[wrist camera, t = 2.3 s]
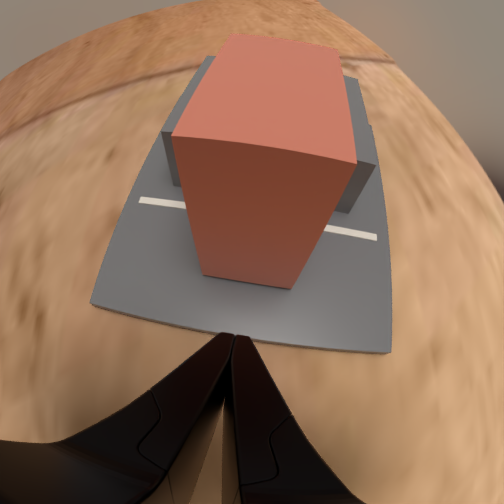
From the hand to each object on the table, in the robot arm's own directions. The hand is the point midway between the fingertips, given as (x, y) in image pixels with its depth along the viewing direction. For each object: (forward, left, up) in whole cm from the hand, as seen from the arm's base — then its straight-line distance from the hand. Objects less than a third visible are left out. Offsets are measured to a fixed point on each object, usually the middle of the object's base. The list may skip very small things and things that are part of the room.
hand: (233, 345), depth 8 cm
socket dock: (+10, +3, -8) cm, 13 cm away
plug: (+8, +2, -7) cm, 11 cm away
